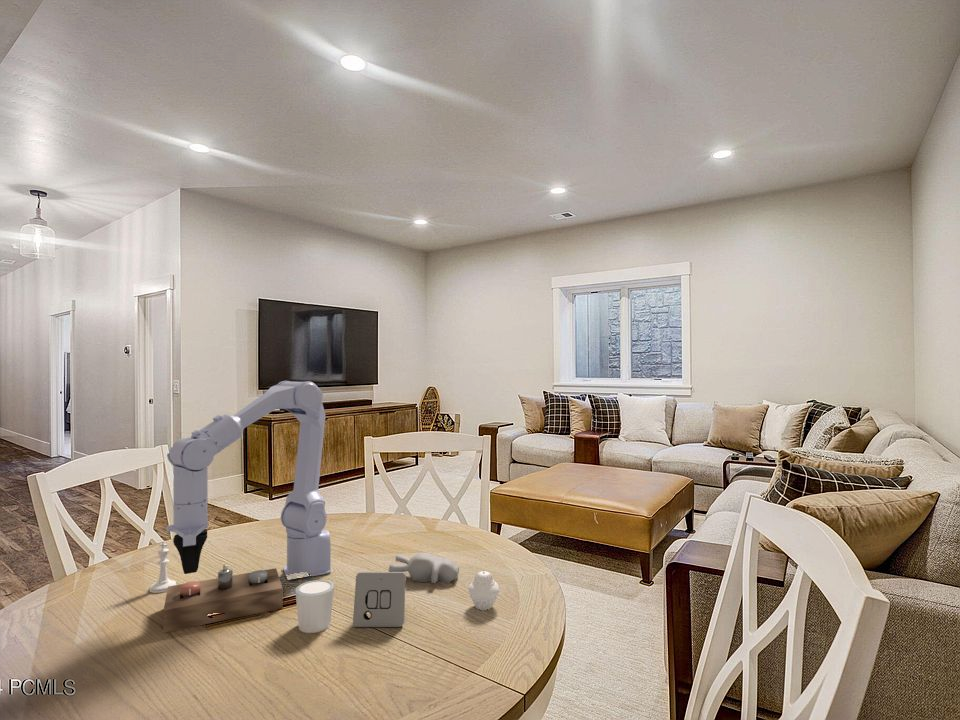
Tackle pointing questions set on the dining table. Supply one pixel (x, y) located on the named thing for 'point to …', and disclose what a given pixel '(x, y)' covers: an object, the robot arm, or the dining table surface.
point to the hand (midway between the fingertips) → (190, 571)
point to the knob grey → (258, 577)
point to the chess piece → (162, 572)
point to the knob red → (190, 589)
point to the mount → (221, 601)
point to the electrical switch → (379, 599)
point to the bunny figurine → (427, 568)
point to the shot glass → (314, 605)
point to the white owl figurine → (483, 590)
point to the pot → (225, 578)
